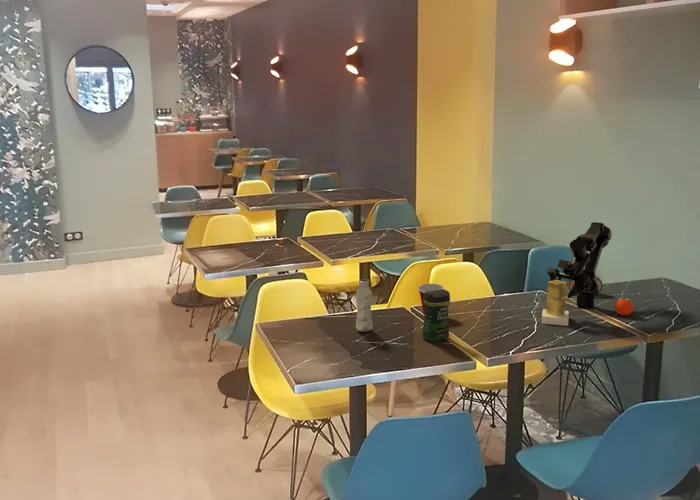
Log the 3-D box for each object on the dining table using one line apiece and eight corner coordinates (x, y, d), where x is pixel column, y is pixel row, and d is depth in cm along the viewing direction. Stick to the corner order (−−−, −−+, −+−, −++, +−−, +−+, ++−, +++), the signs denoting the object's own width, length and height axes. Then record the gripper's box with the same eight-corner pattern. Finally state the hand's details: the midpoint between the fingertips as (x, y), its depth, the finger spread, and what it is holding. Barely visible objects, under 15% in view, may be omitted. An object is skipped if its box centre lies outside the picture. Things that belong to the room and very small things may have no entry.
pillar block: (554, 310, 287) (556, 279, 284) (564, 313, 283) (566, 282, 280) (546, 313, 284) (547, 281, 281) (556, 316, 280) (558, 284, 277)
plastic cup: (413, 317, 289) (414, 289, 287) (421, 310, 299) (422, 282, 296) (440, 320, 285) (440, 291, 283) (446, 312, 295) (447, 284, 292)
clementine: (632, 312, 293) (633, 296, 292) (637, 318, 286) (638, 301, 285) (612, 312, 294) (613, 295, 292) (616, 317, 287) (618, 300, 286)
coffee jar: (431, 343, 259) (432, 294, 255) (419, 337, 266) (419, 289, 262) (452, 339, 264) (454, 291, 260) (440, 333, 271) (441, 286, 267)
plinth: (568, 318, 287) (568, 310, 286) (568, 325, 278) (568, 318, 277) (542, 316, 290) (542, 308, 289) (541, 323, 281) (542, 316, 280)
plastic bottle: (374, 329, 276) (374, 279, 271) (369, 334, 270) (369, 283, 265) (358, 327, 278) (358, 277, 274) (353, 332, 272) (353, 282, 267)
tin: (600, 293, 321) (602, 275, 320) (602, 295, 318) (603, 277, 317) (566, 292, 323) (567, 274, 321) (568, 294, 320) (569, 276, 318)
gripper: (550, 247, 289) (531, 278, 285) (589, 256, 274) (569, 288, 271) (561, 263, 295) (543, 294, 292) (600, 272, 281) (581, 304, 277)
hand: (558, 295), depth 283 cm, fingers open, 9 cm apart
